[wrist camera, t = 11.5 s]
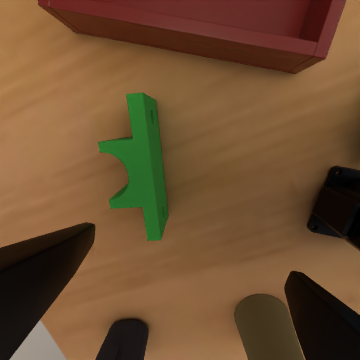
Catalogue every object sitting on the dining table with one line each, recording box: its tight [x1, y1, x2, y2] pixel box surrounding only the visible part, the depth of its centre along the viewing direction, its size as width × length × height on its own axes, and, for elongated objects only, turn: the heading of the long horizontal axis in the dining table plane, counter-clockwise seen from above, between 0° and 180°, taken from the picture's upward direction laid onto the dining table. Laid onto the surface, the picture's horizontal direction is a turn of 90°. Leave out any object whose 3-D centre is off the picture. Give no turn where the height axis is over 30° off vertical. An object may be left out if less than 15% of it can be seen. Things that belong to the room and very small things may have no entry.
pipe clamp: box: [98, 93, 168, 241], centre depth 17 cm, size 11×4×5 cm, turn 5°
